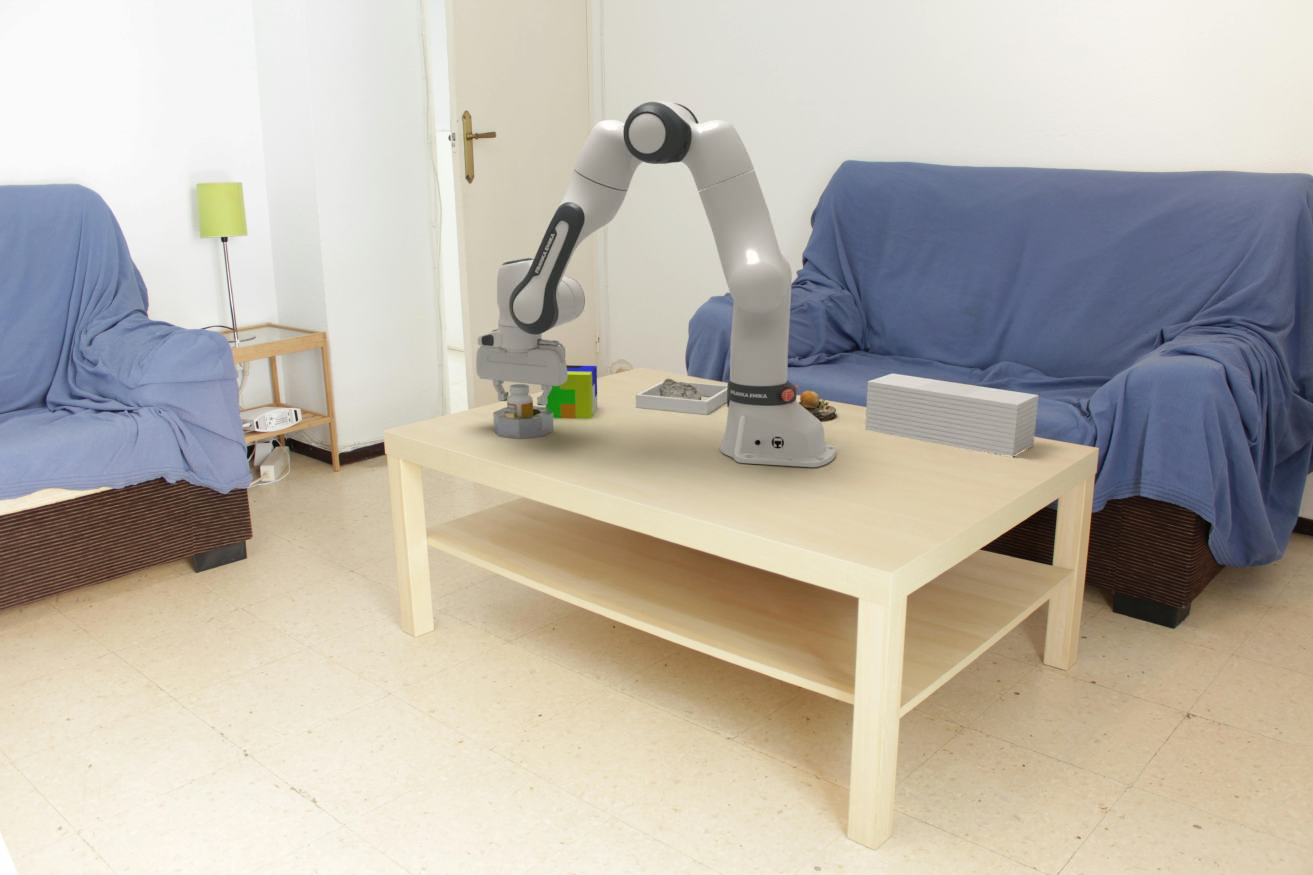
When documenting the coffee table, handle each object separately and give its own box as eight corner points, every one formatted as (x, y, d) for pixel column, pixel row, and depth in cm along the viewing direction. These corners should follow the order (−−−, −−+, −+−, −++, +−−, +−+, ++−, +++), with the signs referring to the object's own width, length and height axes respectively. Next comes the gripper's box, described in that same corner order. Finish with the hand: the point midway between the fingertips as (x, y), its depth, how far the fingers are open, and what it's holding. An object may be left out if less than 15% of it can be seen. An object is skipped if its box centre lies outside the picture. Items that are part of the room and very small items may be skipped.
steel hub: (561, 427, 216) (560, 404, 214) (533, 440, 205) (533, 416, 204) (514, 421, 220) (513, 399, 219) (485, 434, 210) (484, 411, 209)
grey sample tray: (732, 398, 242) (733, 386, 241) (706, 414, 226) (707, 401, 225) (665, 391, 248) (665, 379, 247) (635, 407, 233) (635, 394, 232)
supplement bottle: (534, 427, 216) (533, 383, 213) (532, 433, 211) (531, 388, 208) (509, 427, 216) (507, 383, 213) (506, 434, 210) (504, 388, 208)
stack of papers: (1033, 447, 202) (1038, 395, 199) (1012, 458, 194) (1017, 404, 191) (889, 421, 222) (892, 373, 219) (865, 430, 214) (867, 381, 211)
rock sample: (658, 395, 227) (670, 365, 231) (648, 411, 234) (661, 381, 238) (700, 415, 228) (712, 384, 232) (689, 430, 235) (701, 400, 239)
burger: (842, 413, 228) (844, 381, 226) (827, 425, 218) (828, 391, 216) (792, 408, 233) (793, 376, 231) (774, 419, 223) (775, 386, 221)
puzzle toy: (597, 408, 232) (596, 366, 230) (590, 419, 223) (589, 375, 220) (554, 407, 233) (553, 365, 231) (546, 418, 224) (544, 374, 221)
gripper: (572, 338, 206) (573, 404, 210) (487, 332, 214) (490, 395, 218) (557, 343, 201) (559, 410, 204) (470, 336, 209) (473, 401, 212)
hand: (522, 402), depth 211 cm, fingers open, 8 cm apart
